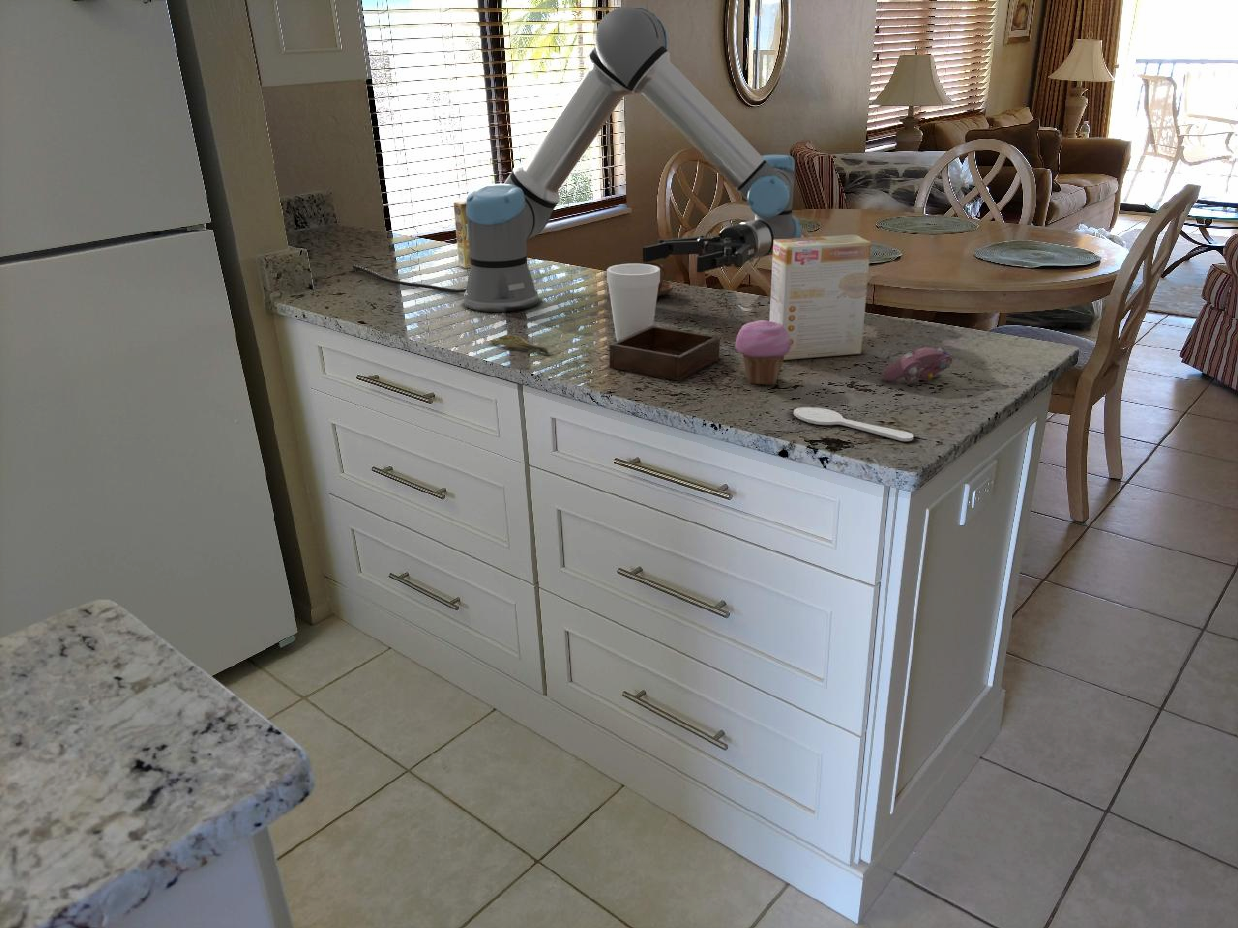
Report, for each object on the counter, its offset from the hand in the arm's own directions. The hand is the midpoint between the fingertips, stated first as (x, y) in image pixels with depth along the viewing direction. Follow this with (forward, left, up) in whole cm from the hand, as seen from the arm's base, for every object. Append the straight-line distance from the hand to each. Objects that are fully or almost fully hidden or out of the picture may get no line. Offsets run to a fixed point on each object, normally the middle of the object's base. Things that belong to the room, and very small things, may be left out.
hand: (670, 259), depth 177 cm
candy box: (-69, +25, -13) cm, 74 cm away
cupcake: (+28, -18, -13) cm, 36 cm away
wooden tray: (+10, -18, -13) cm, 25 cm away
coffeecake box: (+29, +1, -13) cm, 32 cm away
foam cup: (-2, -9, -13) cm, 17 cm away
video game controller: (+49, -5, -13) cm, 51 cm away
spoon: (+47, -29, -13) cm, 57 cm away
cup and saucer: (-18, +21, -13) cm, 30 cm away
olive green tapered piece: (-16, -24, -13) cm, 32 cm away
